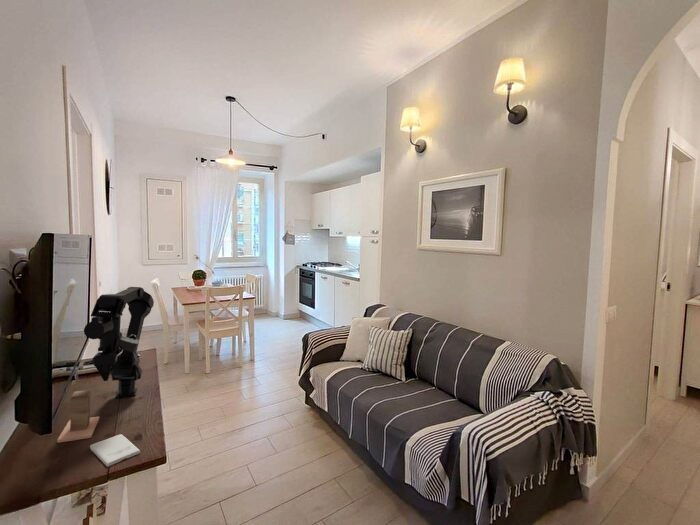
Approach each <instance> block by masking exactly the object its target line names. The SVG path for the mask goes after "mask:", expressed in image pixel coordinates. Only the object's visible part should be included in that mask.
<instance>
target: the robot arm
mask: <svg viewBox="0 0 700 525" xmlns="http://www.w3.org/2000/svg"><path fill="white" fill-rule="evenodd" d="M154 301H155V300H154V298H153V296H152V294H150V293H148V292H147V291H145V289H144V288H143V287H141V286H128V287H127V288H126V289H123V290H121V291H119V292H117V293H106V294H105V293H104V294H101V295H100V296H99V297H98V298H97V299H96V302H95V304H94V306H93V309H92V311H91V314H90V317H91V319H90V320H91V321H90V322H88V323H86V325H85V326H84V328H83V334H84V335H85V337H86V338H87V339H90V340H97V339H98V340H99V345H98V348H97V353H96V354H95V355H94V356H93V357H92V360H91V361H92V363H91V364H92V365H93V366H94V367H95V369H96V370H97V371H98V373H99V376H100V377H101V379H102V380H103V381H104V382H107V381H109V378H110V374H111V379H112V380H111V381H117V391H116V394H115V399H119V398H130V397H136V395H137V391H138V388H137V387H136V381H138V380H141V379H142V375H143V374H142V373H143V370H142V368H141V367H140V361H139V358H138V355H137V351H138V348H139V345H140V344H139V342H140V339H141V335H142V332H143V331H142V330H143V326H144V322H145V318H146V317H147V316H149V315H150V313H151V311H152V309H153V307H154V303H155V302H154ZM127 305H128V312H129V314H130V319H129V323H128V328H127V331H126V336H123V332H121V319H122V318H121V317H122V316H123V312H124V310H125V308H126V306H127Z"/></svg>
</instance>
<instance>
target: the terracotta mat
mask: <svg viewBox="0 0 700 525" xmlns="http://www.w3.org/2000/svg"><path fill="white" fill-rule="evenodd" d="M99 420H100V416H92V417H91V416H90V423H89V425H88V427H87V429H86V430H80V431H73V432H70V421H71V419H69V420H68V422H67V424H65V426H64V428H63V430H62V432H61V433H60V435H59V436H58V438H57V440H56V442H57V444H58V443H65V442H70V441H71V442H72V441H77V440H78V441H79V440H84V439H90V438H92V436H93V434H94V432H95V429H96V427H97V424H98V423H99Z"/></svg>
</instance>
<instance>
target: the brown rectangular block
mask: <svg viewBox="0 0 700 525" xmlns="http://www.w3.org/2000/svg"><path fill="white" fill-rule="evenodd" d="M91 390H92V389H85V390H75V391H74V392H73V393H72V395H71V397H70V398H71V399H70V401H71V402H70V420H71V421H70V432H73V431H80V430H86V429H87V427H88V425H89V423H90V417H91V393H92V391H91Z"/></svg>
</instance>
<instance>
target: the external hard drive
mask: <svg viewBox="0 0 700 525" xmlns="http://www.w3.org/2000/svg"><path fill="white" fill-rule="evenodd" d="M89 449H90V450H91V452H93V454H95V455H96V456H97V458H98V459H99V460H100V461H101V462H102V463H103V464H104V465H105V466H106V468H108V467H111V466H114V465H115V464H118V463H119V462H122V461H123V460H126V459H129V458H131V457H134V456H136V455H139V454H140V453H141V450H140V449H139V448H138V447H137V446H135V444H133V443H132V442H131V441H130V440H129V439H128V438H127V437H126V436H124V435H123V434H121V433H120V434H117V435H114V436H112V437H109V438H106V439H103V440H101V441H97V442H95V443H92V444H90V445H89Z"/></svg>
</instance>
